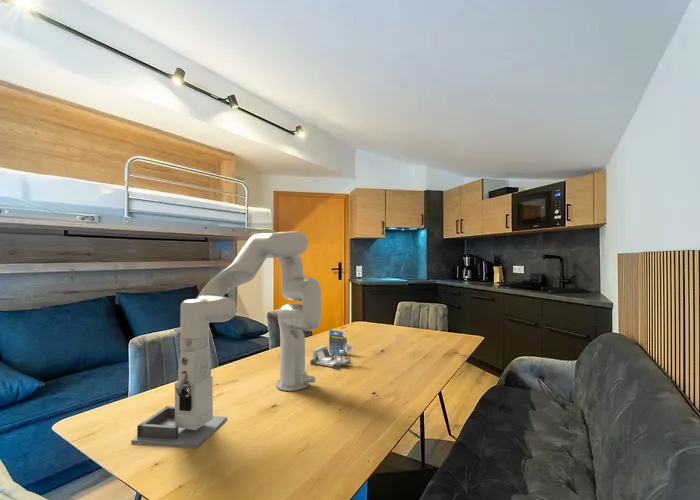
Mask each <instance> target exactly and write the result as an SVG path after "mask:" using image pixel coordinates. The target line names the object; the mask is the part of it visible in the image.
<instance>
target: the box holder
mask: <svg viewBox="0 0 700 500" xmlns="http://www.w3.org/2000/svg"><path fill="white" fill-rule="evenodd" d="M227 420H228V417H227V416H220V415H219V416H217V415H213V419H212V420H211V421H209V422H208V423H206V424H205V425H203V426H201V427H200V428H198V429H197V430H190V429H185V428H179V427H178V426H175V406H170V405H166V406H165V407H163V408H162V409H161V410H159V411H158V412H156V413H154V414H153V415H151V416H150V417H148V418H147V419H145V420H144V421H142V422H141V423H139V424H137V426H136V428H137V429H136V431H137V434H136V436H135V437H133V438H132V439H131V440H130V441H131V442H133V443H132V444H135V443H141V444H140V445H149V444H152V446H164V447H176V448H177V447H178V448H179V447H180V448H190V449H192V448H193V449H199V448H200V447H201V446H202V444H204V443H205V442H206V441H207V440H208V439H209V438H210V437H211V436H212V435H213V434H214V433H215V432H216V431H217V430H218V429H219V428H220V427H221V426H222V425H223V424H224V423H225V422H226V421H227ZM131 442H130V443H131ZM142 443H143V444H142Z"/></svg>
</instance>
